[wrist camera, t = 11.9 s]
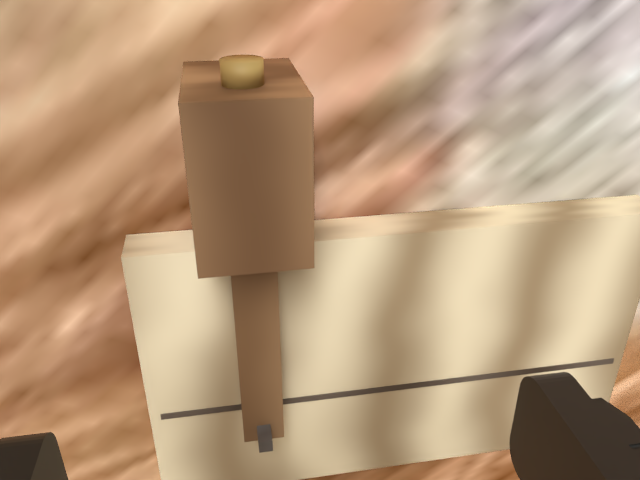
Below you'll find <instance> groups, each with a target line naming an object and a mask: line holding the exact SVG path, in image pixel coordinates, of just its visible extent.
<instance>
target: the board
mask: <svg viewBox="0 0 640 480" xmlns="http://www.w3.org/2000/svg"><path fill="white" fill-rule="evenodd" d="M121 260H122V266H123V271H124V277H125V282H126V288H127V294H128V299H129V305H130V310H131V316H132V321H133V327H134V332H135V338H136V343H137V349H138V355H139V360H140V366H141V371H142V377H143V382H144V388H145V393H146V399H147V404H148V410H149V416H150V421H151V427H152V432H153V438H154V443H155V449H156V454H157V460H158V465H159V471H160V477H161V480H300V479H307V478H314V477H321V476H328V475H335V474H342V473H348V472H355V471H362V470H369V469H376V468H383V467H390V466H397V465H404V464H411V463H418V462H425V461H432V460H438V459H445V458H452V457H459V456H466V455H473V454H480V453H487V452H494V451H501V450H508V449H510V444H509V442H510V433H511V428H512V423H513V418H514V413H515V408H516V402H517V397H518V392H519V387H520V383H521V381H522V379H523V378H524V377H526V376H534V375H542V374H550V373H559V372H568V373H570V374H571V375H572V376H573V377H574V378H575V379H576V380H577V381H578V383H579V384H580V385H581V386H582V388H583V389H584V390H585V391H586V393H587V394H588V395H589V396H590V398H591V399H594V398H603V399H604V400H606V401H607V402H608V403H609V401H610V397H611V394H612V391H613V387H614V384H615V380H616V377H617V374H618V370H619V367H620V363H621V360H622V357H623V353H624V350H625V346H626V343H627V340H628V336H629V333H630V329H631V326H632V323H633V319H634V316H635V312H636V309H637V306H638V302H639V299H640V196H638V195H629V196H617V197H604V198H591V199H578V200H566V201H553V202H540V203H527V204H515V205H502V206H489V207H476V208H464V209H451V210H438V211H425V212H413V213H400V214H387V215H374V216H362V217H349V218H336V219H323V220H314V264H315V268H313V269H301V270H290V271H279V272H278V292H279V317H280V343H281V368H282V393H283V419H284V437H281V438H274V439H272V441H273V451H269V452H262V453H259V445H258V441H251V442H244V431H243V419H242V407H241V395H240V382H239V370H238V358H237V346H236V334H235V322H234V310H233V297H232V285H231V276H223V277H212V278H201V279H198V275H197V266H196V257H195V248H194V239H193V230H183V231H170V232H157V233H145V234H132V235H126V239H125V243H124V248H123V252H122V256H121Z"/></svg>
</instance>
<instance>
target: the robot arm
mask: <svg viewBox="0 0 640 480" xmlns="http://www.w3.org/2000/svg"><path fill="white" fill-rule="evenodd" d="M509 444H510V454H511V458H512V462H513V465H514V468H515V470H516V473H517V475H518V477H519V478H520V480H640V428H639V427H638V426H637V425H636V424H635V423H634V421H633V420H632V419H631V418H630V417H629V416H627V415H626V414H625V413H623V412H622V411H620V410H619V409H617V408H616V407H614V406H613V405H611V404H610V403H608V402H607V401H606V400H604V399H603V398H594V399H591V398H590V396H589V395H588V394H587V393H586V391H585V390H584V389H583V388H582V386H581V385H580V384H579V383H578V381H577V380H576V379H575V378H574V377H573V376H572V375H571V374H570V373H568V372H559V373H550V374H542V375H534V376H526V377H524V378H523V379H522V381H521V383H520V387H519V392H518V397H517V402H516V408H515V413H514V418H513V423H512V428H511V433H510V442H509ZM0 480H68V477H67V474H66V470H65V467H64V463H63V460H62V457H61V453H60V450H59V446H58V443H57V440H56V437H55V435H54V434H53V433H51V432H48V433H40V434H32V435H24V436H15V437H7V438H2V439H0Z"/></svg>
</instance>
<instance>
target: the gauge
mask: <svg viewBox="0 0 640 480" xmlns="http://www.w3.org/2000/svg"><path fill="white" fill-rule="evenodd" d="M178 106H179V115H180V124H181V132H182V141H183V150H184V159H185V168H186V177H187V186H188V195H189V204H190V213H191V221H192V230H193V239H194V248H195V257H196V266H197V275H198V279H201V278H212V277H223V276H231V285H232V297H233V310H234V322H235V334H236V346H237V358H238V370H239V382H240V395H241V407H242V419H243V431H244V442H251V441H258V445H259V453H262V452H269V451H273V441H272V439H274V438H281V437H284V419H283V393H282V368H281V343H280V317H279V292H278V272H279V271H290V270H301V269H313V268H315V264H314V98H313V95H312V94H311V92H310V91H309V89H308V88H307V86H306V85H305V83H304V81H303V80H302V78H301V77H300V75H299V74H298V72H297V71H296V69H295V67H294V66H293V64H292V63H291V61H290V60H289V58H279V59H263V57H260V56H255V55H232V56H226V57H222V58H220V59H219V61H195V62H184V63H183V71H182V78H181V86H180V93H179V101H178Z"/></svg>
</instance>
